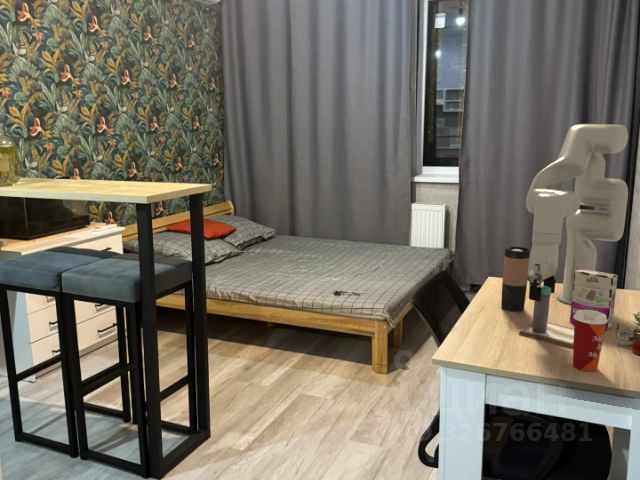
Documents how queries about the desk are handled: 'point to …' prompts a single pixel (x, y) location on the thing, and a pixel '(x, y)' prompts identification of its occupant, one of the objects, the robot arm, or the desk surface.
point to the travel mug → (515, 278)
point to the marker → (541, 311)
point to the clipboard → (552, 334)
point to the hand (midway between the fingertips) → (541, 296)
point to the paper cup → (588, 339)
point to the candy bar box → (594, 293)
